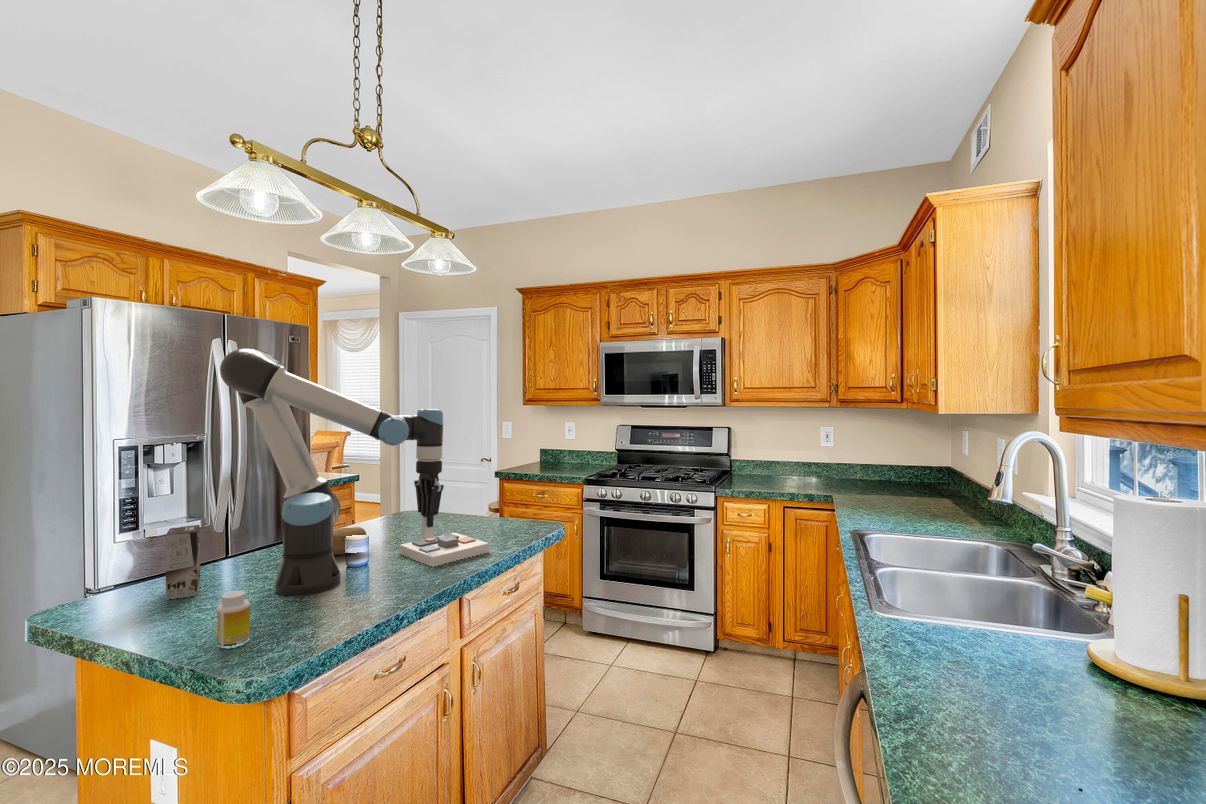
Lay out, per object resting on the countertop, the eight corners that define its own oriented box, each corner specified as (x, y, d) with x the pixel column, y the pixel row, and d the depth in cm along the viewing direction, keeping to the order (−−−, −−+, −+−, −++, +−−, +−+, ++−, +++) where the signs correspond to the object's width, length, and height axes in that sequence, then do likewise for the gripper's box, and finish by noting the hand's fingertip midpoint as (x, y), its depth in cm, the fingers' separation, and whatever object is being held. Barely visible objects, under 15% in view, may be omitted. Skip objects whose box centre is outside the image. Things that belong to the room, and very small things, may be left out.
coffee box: (197, 596, 137) (197, 531, 136) (164, 601, 133) (164, 535, 133) (201, 585, 145) (200, 524, 144) (170, 589, 141) (169, 527, 141)
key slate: (426, 560, 164) (426, 550, 164) (419, 557, 167) (419, 548, 167) (439, 557, 167) (439, 547, 167) (432, 554, 170) (432, 545, 170)
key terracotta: (463, 551, 174) (463, 542, 174) (456, 548, 177) (456, 539, 177) (475, 548, 177) (475, 539, 177) (467, 545, 180) (467, 536, 180)
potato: (317, 552, 174) (317, 527, 174) (365, 547, 180) (365, 523, 180) (316, 561, 165) (316, 534, 165) (367, 555, 171) (367, 529, 171)
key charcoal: (445, 551, 169) (445, 541, 169) (438, 548, 172) (438, 538, 172) (458, 548, 172) (458, 538, 172) (450, 545, 175) (450, 536, 175)
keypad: (432, 567, 160) (432, 553, 160) (399, 554, 172) (399, 541, 172) (488, 552, 175) (488, 539, 175) (454, 541, 187) (454, 529, 187)
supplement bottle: (256, 640, 113) (256, 590, 113) (231, 652, 108) (231, 600, 107) (236, 636, 115) (235, 587, 114) (210, 648, 109) (209, 597, 109)
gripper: (452, 461, 165) (450, 539, 165) (428, 456, 174) (427, 531, 174) (429, 462, 160) (427, 543, 160) (406, 458, 168) (404, 535, 168)
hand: (427, 537), depth 167 cm, fingers closed
